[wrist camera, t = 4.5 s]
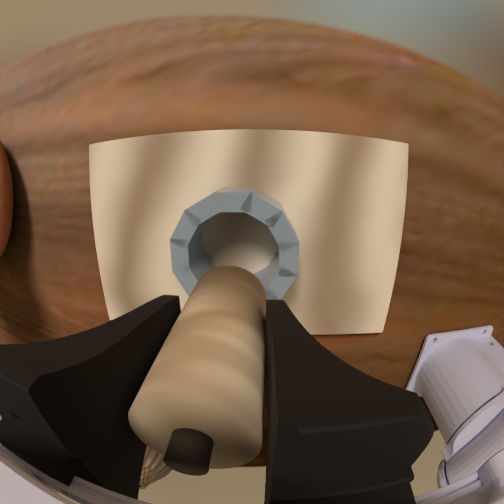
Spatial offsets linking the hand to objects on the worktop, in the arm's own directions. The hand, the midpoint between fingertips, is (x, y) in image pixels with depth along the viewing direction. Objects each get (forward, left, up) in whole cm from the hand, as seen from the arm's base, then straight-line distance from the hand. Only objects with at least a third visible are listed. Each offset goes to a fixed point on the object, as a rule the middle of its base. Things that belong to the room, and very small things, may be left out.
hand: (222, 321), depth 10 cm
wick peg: (0, 0, -2) cm, 2 cm away
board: (0, -1, -9) cm, 9 cm away
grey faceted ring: (0, -1, -9) cm, 9 cm away
